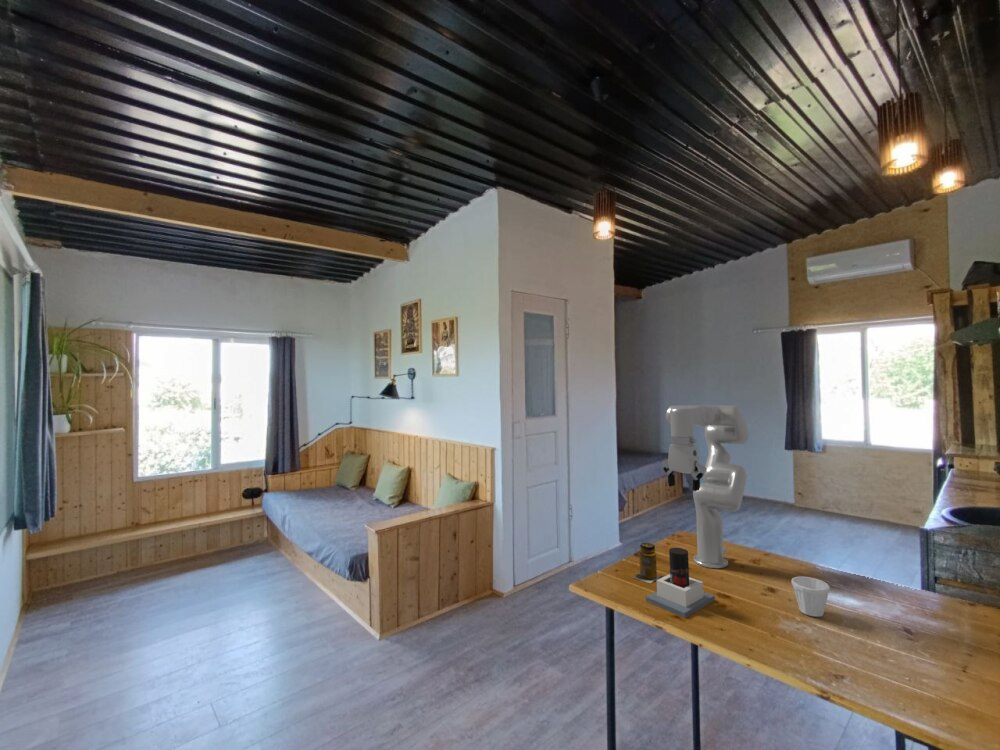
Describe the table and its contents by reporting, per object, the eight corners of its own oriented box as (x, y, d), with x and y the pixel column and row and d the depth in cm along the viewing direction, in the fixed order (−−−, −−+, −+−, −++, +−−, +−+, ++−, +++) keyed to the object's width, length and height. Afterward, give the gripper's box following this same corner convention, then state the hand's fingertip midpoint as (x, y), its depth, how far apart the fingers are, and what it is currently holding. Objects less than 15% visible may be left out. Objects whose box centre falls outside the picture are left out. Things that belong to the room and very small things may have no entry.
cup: (837, 622, 135) (836, 591, 135) (800, 619, 137) (799, 589, 137) (821, 606, 145) (820, 577, 145) (786, 603, 147) (785, 575, 147)
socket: (676, 585, 162) (675, 567, 162) (714, 600, 151) (713, 580, 151) (646, 601, 151) (645, 581, 151) (684, 617, 140) (683, 596, 140)
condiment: (661, 576, 170) (660, 544, 170) (650, 584, 164) (649, 550, 164) (643, 571, 175) (642, 540, 175) (632, 578, 169) (631, 545, 169)
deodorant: (666, 593, 153) (665, 549, 153) (680, 590, 155) (679, 546, 155) (679, 601, 147) (678, 555, 147) (693, 598, 149) (692, 552, 150)
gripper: (710, 442, 160) (712, 490, 160) (667, 438, 174) (668, 482, 174) (699, 444, 156) (700, 494, 155) (655, 440, 170) (656, 485, 169)
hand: (683, 488), depth 165 cm, fingers open, 9 cm apart
